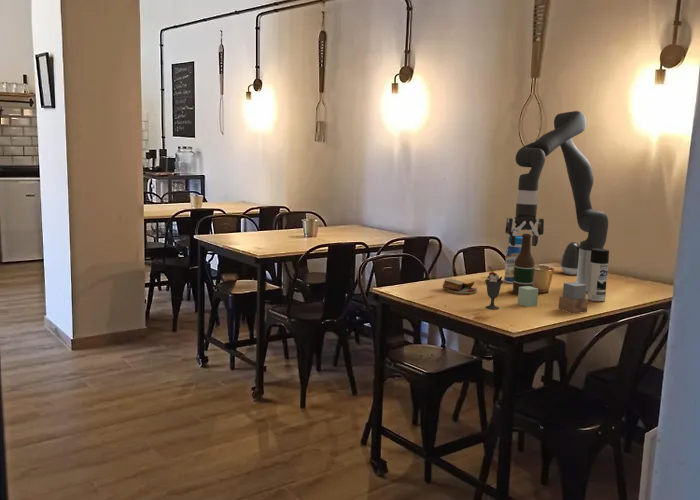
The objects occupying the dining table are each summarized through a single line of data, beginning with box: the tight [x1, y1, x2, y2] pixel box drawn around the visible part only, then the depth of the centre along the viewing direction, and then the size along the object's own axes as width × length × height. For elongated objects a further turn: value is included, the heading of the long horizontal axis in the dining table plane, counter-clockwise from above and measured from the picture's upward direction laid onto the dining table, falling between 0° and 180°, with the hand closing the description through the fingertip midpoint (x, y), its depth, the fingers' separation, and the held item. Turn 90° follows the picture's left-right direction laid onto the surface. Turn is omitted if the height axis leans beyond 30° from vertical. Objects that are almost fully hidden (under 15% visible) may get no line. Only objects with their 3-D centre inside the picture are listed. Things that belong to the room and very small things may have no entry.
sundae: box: [484, 266, 504, 310], centre depth 245 cm, size 7×7×15 cm
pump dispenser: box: [560, 241, 580, 276], centre depth 315 cm, size 10×10×15 cm
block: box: [517, 286, 539, 308], centre depth 253 cm, size 5×5×6 cm
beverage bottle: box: [503, 235, 522, 284], centre depth 292 cm, size 8×8×20 cm
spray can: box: [586, 248, 610, 303], centre depth 263 cm, size 7×7×20 cm
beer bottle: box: [512, 233, 535, 295], centre depth 271 cm, size 8×8×24 cm
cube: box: [562, 281, 587, 300], centre depth 245 cm, size 6×6×5 cm
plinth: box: [558, 295, 589, 315], centre depth 246 cm, size 7×7×5 cm
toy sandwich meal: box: [442, 277, 478, 296], centre depth 272 cm, size 12×14×5 cm
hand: (523, 245), depth 253 cm, fingers open, 8 cm apart
